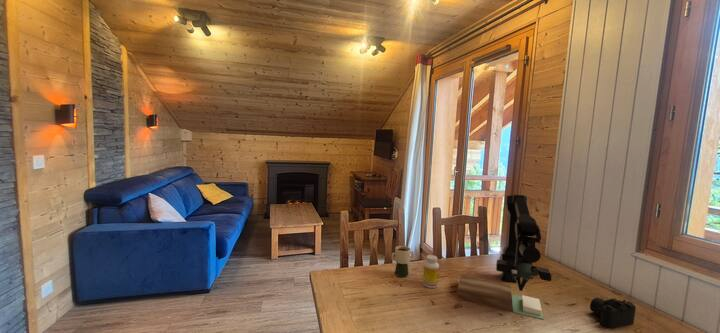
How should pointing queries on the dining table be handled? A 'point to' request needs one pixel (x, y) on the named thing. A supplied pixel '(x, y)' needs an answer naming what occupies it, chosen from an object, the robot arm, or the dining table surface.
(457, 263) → the dining table surface
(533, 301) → the white rectangular block
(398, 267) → the character mug
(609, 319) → the film camera
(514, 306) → the mat
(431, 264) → the supplement bottle
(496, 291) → the deck
